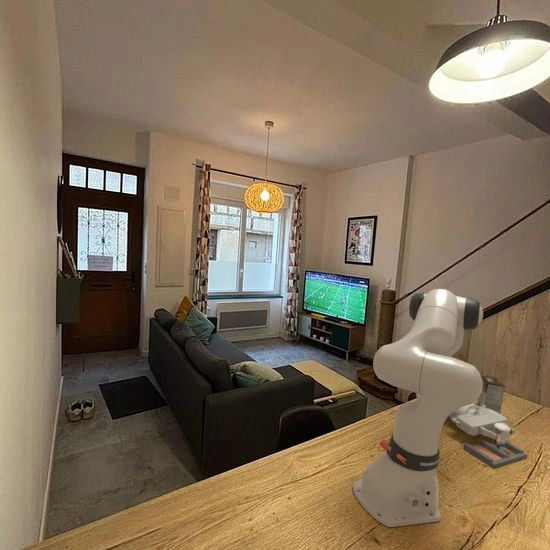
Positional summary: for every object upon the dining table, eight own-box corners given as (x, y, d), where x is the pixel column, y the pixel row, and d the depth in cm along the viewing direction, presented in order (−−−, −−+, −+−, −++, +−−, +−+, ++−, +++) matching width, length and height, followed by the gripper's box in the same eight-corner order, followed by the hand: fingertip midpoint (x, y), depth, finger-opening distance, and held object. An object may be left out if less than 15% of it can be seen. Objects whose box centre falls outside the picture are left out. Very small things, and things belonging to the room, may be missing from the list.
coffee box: (475, 410, 138) (480, 374, 136) (492, 413, 136) (497, 377, 134) (481, 420, 129) (487, 382, 128) (500, 424, 127) (505, 385, 126)
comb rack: (493, 468, 98) (494, 462, 98) (463, 448, 108) (463, 443, 108) (526, 457, 105) (527, 452, 105) (495, 440, 115) (496, 435, 115)
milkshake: (512, 455, 106) (516, 427, 105) (494, 452, 107) (498, 424, 106) (505, 447, 110) (509, 420, 110) (488, 444, 111) (492, 417, 111)
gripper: (448, 409, 116) (486, 430, 103) (484, 403, 124) (523, 421, 111) (446, 426, 116) (484, 448, 103) (482, 418, 124) (521, 438, 112)
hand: (505, 434), depth 107 cm, fingers open, 8 cm apart
